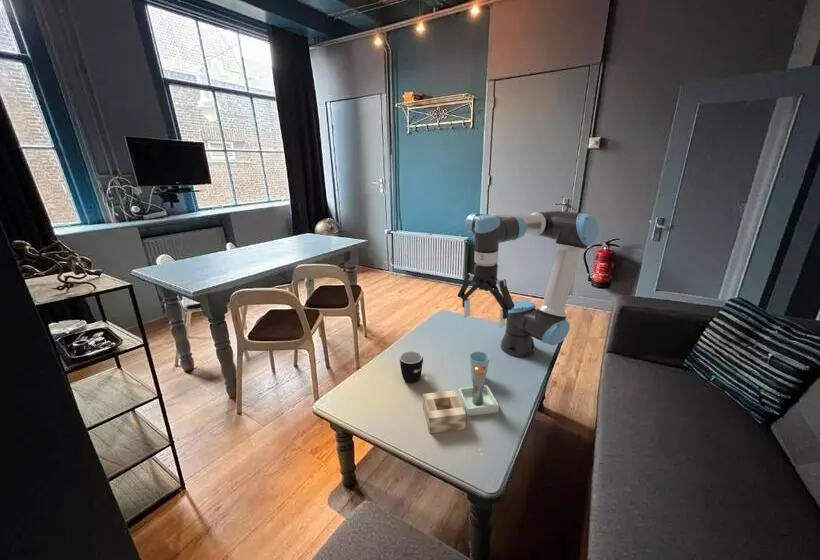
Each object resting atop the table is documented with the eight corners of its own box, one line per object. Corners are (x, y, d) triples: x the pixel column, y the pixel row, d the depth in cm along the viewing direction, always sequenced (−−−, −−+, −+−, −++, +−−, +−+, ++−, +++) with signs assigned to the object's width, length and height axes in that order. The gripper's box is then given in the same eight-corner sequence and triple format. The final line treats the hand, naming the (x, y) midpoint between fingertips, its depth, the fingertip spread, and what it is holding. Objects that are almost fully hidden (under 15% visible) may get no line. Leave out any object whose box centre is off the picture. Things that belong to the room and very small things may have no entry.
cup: (467, 373, 135) (468, 351, 132) (485, 373, 135) (487, 351, 132) (470, 384, 128) (471, 362, 125) (489, 384, 128) (491, 361, 125)
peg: (470, 398, 120) (472, 365, 115) (481, 397, 120) (482, 364, 115) (474, 406, 116) (475, 371, 111) (484, 405, 116) (487, 370, 112)
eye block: (455, 404, 118) (455, 390, 116) (465, 428, 107) (465, 413, 105) (422, 407, 117) (422, 393, 115) (429, 433, 105) (429, 418, 103)
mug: (413, 388, 127) (413, 366, 124) (396, 380, 132) (395, 358, 129) (431, 373, 136) (431, 352, 133) (414, 366, 141) (413, 345, 138)
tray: (486, 391, 124) (487, 385, 123) (498, 412, 114) (498, 405, 113) (458, 395, 123) (458, 388, 122) (467, 416, 112) (467, 408, 111)
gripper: (447, 260, 112) (448, 316, 119) (518, 272, 96) (513, 335, 103) (459, 255, 117) (459, 308, 124) (527, 266, 101) (523, 326, 109)
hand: (483, 321), depth 114 cm, fingers open, 13 cm apart
